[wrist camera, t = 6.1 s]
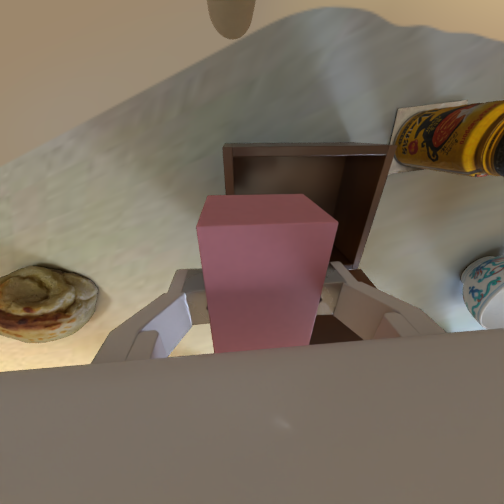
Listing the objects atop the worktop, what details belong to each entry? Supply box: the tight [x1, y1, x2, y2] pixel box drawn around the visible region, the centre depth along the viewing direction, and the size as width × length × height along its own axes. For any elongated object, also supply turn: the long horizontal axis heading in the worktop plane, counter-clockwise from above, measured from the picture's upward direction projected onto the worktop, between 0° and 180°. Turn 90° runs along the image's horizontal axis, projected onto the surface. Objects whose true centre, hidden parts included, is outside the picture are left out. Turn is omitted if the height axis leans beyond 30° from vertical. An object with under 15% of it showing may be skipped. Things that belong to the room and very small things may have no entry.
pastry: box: [0, 266, 98, 343], centre depth 28 cm, size 14×12×8 cm
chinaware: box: [461, 255, 504, 329], centre depth 35 cm, size 15×15×8 cm
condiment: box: [388, 100, 504, 177], centre depth 20 cm, size 7×8×12 cm
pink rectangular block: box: [196, 194, 338, 353], centre depth 9 cm, size 7×4×4 cm, turn 0°
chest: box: [223, 142, 397, 270], centre depth 24 cm, size 14×16×8 cm
